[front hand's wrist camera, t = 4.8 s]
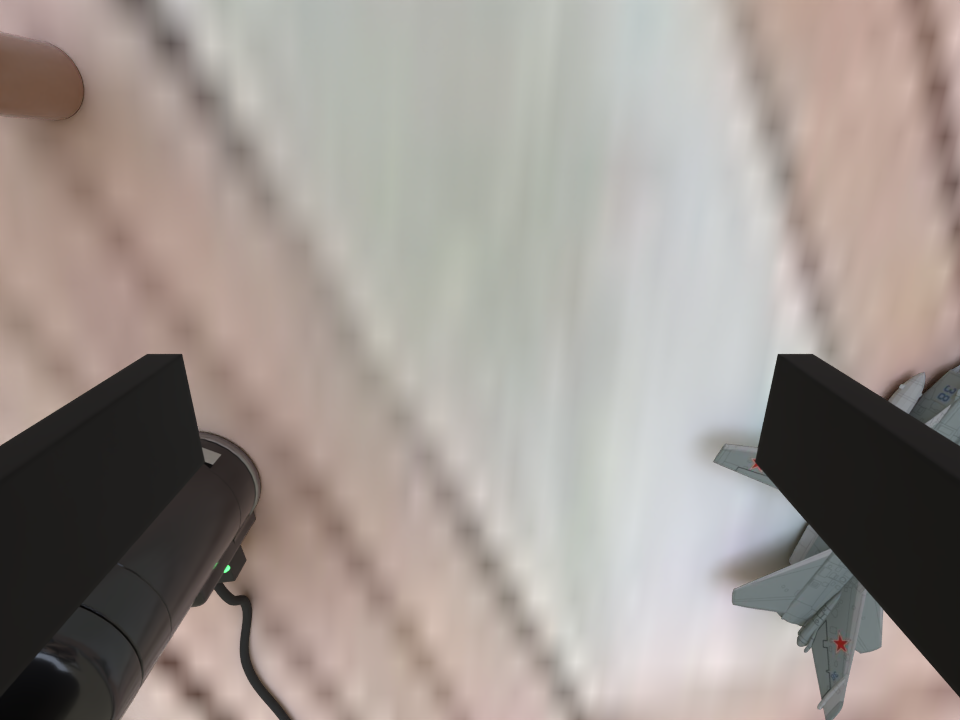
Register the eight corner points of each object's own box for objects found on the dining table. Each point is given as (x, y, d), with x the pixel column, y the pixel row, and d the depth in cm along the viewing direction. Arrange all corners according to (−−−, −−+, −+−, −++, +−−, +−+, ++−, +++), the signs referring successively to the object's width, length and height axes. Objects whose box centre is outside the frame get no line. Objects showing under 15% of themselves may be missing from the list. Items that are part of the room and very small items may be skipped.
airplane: (1056, 587, 50) (1191, 686, 41) (712, 644, 52) (765, 751, 42) (1140, 155, 37) (1365, 153, 28) (679, 252, 39) (745, 280, 30)
